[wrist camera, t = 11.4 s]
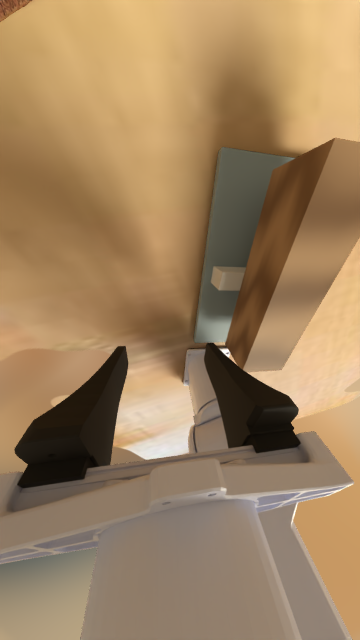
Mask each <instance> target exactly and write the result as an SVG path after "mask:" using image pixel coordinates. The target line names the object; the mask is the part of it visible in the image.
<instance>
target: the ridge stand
mask: <svg viewBox="0 0 360 640" xmlns="http://www.w3.org/2000/svg"><path fill="white" fill-rule="evenodd" d="M293 159H295V158H291V157H285V156H278V155H272V154H265V153H259V152H252V151H246V150H239V149H232V148H226V147H222V148H221V149H220V150H219V152H218V158H217V166H216V173H215V181H214V188H213V196H212V204H211V211H210V219H209V226H208V234H207V241H206V249H205V256H204V264H203V271H202V279H201V287H200V294H199V302H198V309H197V317H196V324H195V332H194V342H195V343H206V342H226V339H227V335H228V332H229V328H230V324H231V321H232V317H233V313H234V310H235V306H236V302H237V299H238V295H239V291H240V288H241V284H242V280H243V277H244V273H245V270H246V266H247V262H248V259H249V255H250V251H251V248H252V244H253V240H254V237H255V233H256V229H257V226H258V222H259V218H260V215H261V211H262V207H263V204H264V200H265V197H266V193H267V189H268V186H269V182H270V178H271V175H272V171H273V169H275V168H277V167H279V166H281V165H283V164H285V163H287V162H289V161H291V160H293Z"/></svg>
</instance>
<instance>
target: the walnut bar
mask: <svg viewBox="0 0 360 640" xmlns="http://www.w3.org/2000/svg"><path fill="white" fill-rule="evenodd" d="M359 237H360V142H356V141H350V140H345V139H339V138H334V139H332V140H330V141H328V142H326V143H324V144H322V145H320V146H318V147H316V148H314V149H313V150H311V151H309V152H307V153H305V154H303V155H301V156H299V157H297V158H295V159H293V160H291V161H289V162H287V163H285V164H283V165H281V166H279V167H277V168H275V169H273V171H272V175H271V178H270V182H269V186H268V189H267V193H266V197H265V200H264V204H263V207H262V211H261V215H260V218H259V222H258V226H257V229H256V233H255V237H254V240H253V244H252V248H251V251H250V255H249V259H248V262H247V266H246V270H245V273H244V277H243V280H242V284H241V288H240V291H239V295H238V299H237V302H236V306H235V310H234V313H233V317H232V321H231V324H230V328H229V332H228V335H227V339H226V343H225V345H226V346H227V348H228V350H229V351H230V353H231V355H232V357H233V358H234V360H235V362H236V363H237V365H238V366H239V367H240V368H241V369H243V370H244V371H245V372H259V371H274V370H282V368H283V367H284V365H285V363H286V362H287V360H288V358H289V356H290V355H291V353H292V351H293V350H294V348H295V346H296V345H297V343H298V341H299V339H300V338H301V336H302V334H303V333H304V331H305V329H306V328H307V326H308V324H309V322H310V321H311V319H312V317H313V316H314V314H315V312H316V311H317V309H318V307H319V305H320V304H321V302H322V300H323V299H324V297H325V295H326V294H327V292H328V290H329V288H330V287H331V285H332V283H333V282H334V280H335V278H336V276H337V275H338V273H339V271H340V270H341V268H342V266H343V265H344V263H345V261H346V259H347V258H348V256H349V254H350V253H351V251H352V249H353V248H354V246H355V244H356V242H357V241H358V239H359Z"/></svg>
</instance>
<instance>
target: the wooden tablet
mask: <svg viewBox="0 0 360 640" xmlns="http://www.w3.org/2000/svg"><path fill="white" fill-rule="evenodd" d="M30 1H32V0H0V22H1V21H2V20H4V19H5V18H6V17H8V16H9V15H11V14H12V13H14V12H15V11H17V10H19V9H20V8H21V7H24V6H26V5H27V4H28V3H29V2H30Z"/></svg>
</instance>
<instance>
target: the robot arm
mask: <svg viewBox="0 0 360 640" xmlns="http://www.w3.org/2000/svg"><path fill="white" fill-rule="evenodd" d="M229 355H230V351H229V350H228V348H218V347H217V346H216V345H215V344H214V343H207V345H206V349H189V350H187V353H186V363H185V372H184V381H183V384H184V385H185V386H189V390H190V395H191V400H192V405H193V410H194V414H195V416H193V417H194V423H195V425H193V426H192V427H191V428H190V432H189V437H188V447H189V454H185V455H178V456H171V457H164V458H157V459H150V460H143V461H137V462H129V463H122V464H115V465H110V462H111V454H112V446H113V439H114V432H115V425H116V418H117V412H118V407H119V402H120V398H121V394H122V390H123V387H124V383H125V379H126V375H127V369H128V358H127V352H126V346H118V347H117V348H116V349H115V351H114V352H113V353H112V354H111V356H110V357H109V358H108V359H107V361H106V362H105V363H104V364H103V365H102V366H101V368H100V369H99V370H98V371H97V372H96V373H95V374H94V375H93V376H92V377H91V378H90V379H89V380H88V381H87V382H86V383H85V384H83V385H82V386H81V387H80V388H79V389H78V390H76V391H75V392H74V393H73V394H71V395H70V396H69V397H68V398H66V399H65V400H63V401H62V402H61V403H59V404H58V405H56V406H55V407H54V408H52V409H51V410H49V411H47V412H46V413H45V414H43V415H41V416H40V417H38V418H37V419H35V420H33V422H32V423H31V425H30V426H29V427H28V429H27V430H26V432H25V434H24V435H23V437H22V438H21V440H20V441H19V443H18V444H17V446H16V448H15V454H16V455H17V456H18V457H19V458H20V459H22V460H23V461H24V462H25V463H27V464H28V466H27V468H26V470H25V471H24V473H23V472H10V473H3V474H0V564H3V563H8V562H13V561H19V560H25V559H30V558H36V557H42V556H48V555H54V554H60V553H66V552H71V551H77V550H83V549H89V548H95V547H97V553H96V558H95V564H94V568H93V574H92V579H91V585H90V590H89V595H88V600H87V606H86V611H85V616H84V622H83V627H82V633H81V637H80V640H352V638H351V636H350V634H349V632H348V630H347V628H346V626H345V624H344V622H343V620H342V618H341V616H340V614H339V612H338V610H337V608H336V606H335V604H334V602H333V600H332V598H331V596H330V594H329V592H328V590H327V588H326V586H325V584H324V582H323V580H322V578H321V576H320V574H319V572H318V570H317V568H316V566H315V564H314V562H313V560H312V558H311V556H310V554H309V552H308V550H307V548H306V546H305V544H304V542H303V540H302V538H301V536H300V534H299V532H298V530H297V528H296V526H295V524H294V522H293V518H294V515H295V511H296V508H297V505H298V502H302V501H306V500H311V499H315V498H320V497H324V496H329V495H331V494H333V493H335V492H337V491H340V490H342V489H344V488H346V487H348V486H350V485H353V484H354V481H353V480H352V479H351V477H350V476H349V475H348V474H347V472H346V471H345V470H344V468H343V467H342V466H341V464H340V463H339V462H338V461H337V459H336V458H335V457H334V455H333V454H332V453H331V452H330V450H329V449H328V448H327V446H326V445H325V444H324V443H323V441H322V440H321V439H320V438H319V436H318V435H317V434H316V432H314V431H313V432H304V433H299V434H297V435H295V433H294V432H293V429H294V427H293V426H292V424H291V422H292V420H293V419H294V418H295V417H296V416H297V414H298V411H299V409H298V407H297V406H296V405H295V404H294V402H293V401H292V400H291V398H290V397H289V396H288V395H286V394H283V393H281V392H279V391H277V390H275V389H273V388H271V387H269V386H268V385H266V384H264V383H262V382H260V381H259V380H257V379H256V378H254V377H252V376H251V375H249V374H248V373H247V372H245V371H244V370H243V369H241V368H240V367H239V366H237V365H236V364H235V363H234V362H233V361H232V360H230V359H229Z"/></svg>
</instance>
